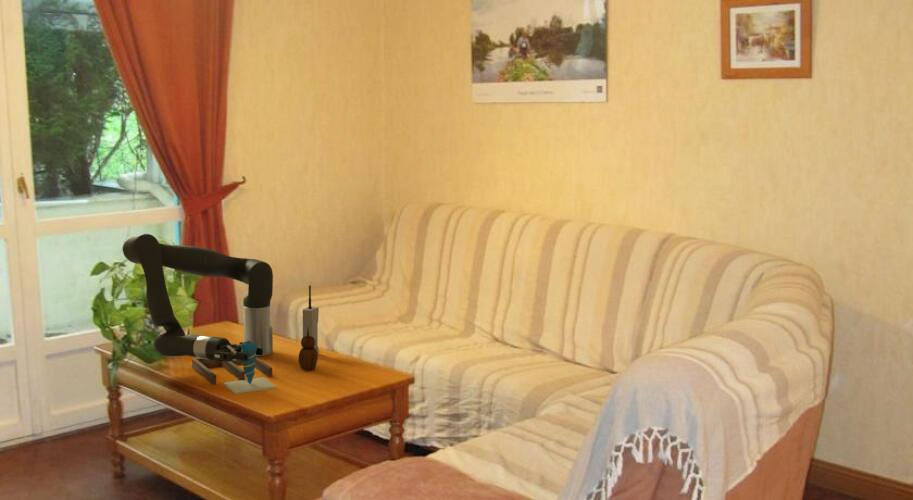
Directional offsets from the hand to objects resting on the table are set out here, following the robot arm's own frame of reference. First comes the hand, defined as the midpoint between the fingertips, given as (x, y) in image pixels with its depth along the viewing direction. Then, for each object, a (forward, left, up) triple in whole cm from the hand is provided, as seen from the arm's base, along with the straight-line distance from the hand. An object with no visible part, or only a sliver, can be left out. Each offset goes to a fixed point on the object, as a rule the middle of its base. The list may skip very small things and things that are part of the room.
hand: (255, 354), depth 306 cm
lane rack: (+1, -19, -10) cm, 22 cm away
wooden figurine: (-22, -11, -11) cm, 27 cm away
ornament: (+1, -3, -10) cm, 10 cm away
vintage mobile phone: (-30, -28, -11) cm, 43 cm away
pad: (+1, -2, -10) cm, 11 cm away
